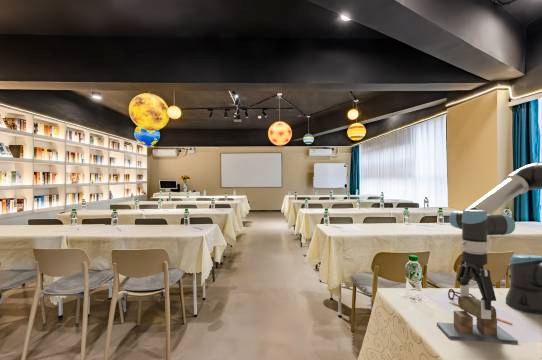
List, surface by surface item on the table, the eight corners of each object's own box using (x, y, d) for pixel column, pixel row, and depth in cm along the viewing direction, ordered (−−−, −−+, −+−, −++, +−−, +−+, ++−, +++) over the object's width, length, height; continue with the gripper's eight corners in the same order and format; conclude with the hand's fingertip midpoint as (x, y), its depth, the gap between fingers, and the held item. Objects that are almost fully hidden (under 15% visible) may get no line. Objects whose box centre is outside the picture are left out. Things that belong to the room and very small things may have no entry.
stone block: (483, 322, 98) (483, 307, 98) (457, 308, 110) (456, 295, 110) (498, 321, 99) (497, 306, 99) (470, 307, 111) (469, 294, 111)
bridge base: (498, 328, 108) (498, 310, 108) (517, 343, 98) (517, 323, 98) (436, 324, 111) (436, 306, 111) (449, 338, 101) (449, 318, 101)
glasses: (447, 297, 139) (447, 287, 139) (475, 298, 138) (475, 288, 138) (463, 309, 126) (463, 298, 126) (494, 310, 125) (494, 299, 125)
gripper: (447, 244, 118) (447, 296, 117) (484, 260, 93) (484, 325, 93) (466, 245, 117) (466, 297, 116) (509, 261, 92) (509, 327, 92)
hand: (474, 310), depth 104 cm, fingers open, 13 cm apart
